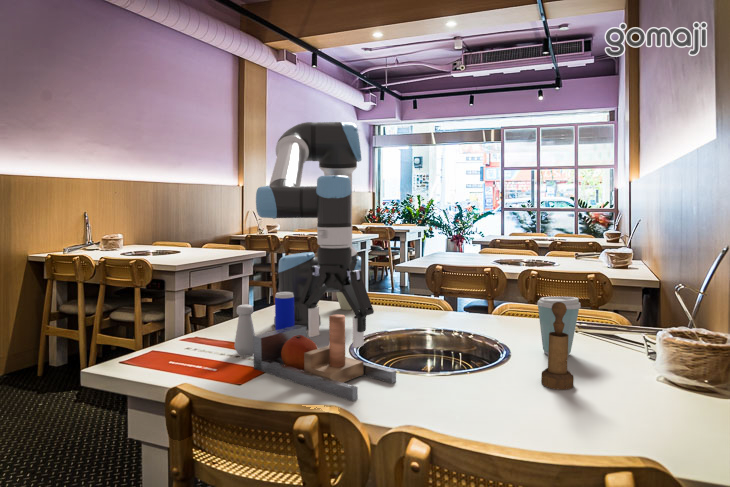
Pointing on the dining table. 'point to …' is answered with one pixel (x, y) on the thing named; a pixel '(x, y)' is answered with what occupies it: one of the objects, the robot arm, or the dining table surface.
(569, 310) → the disposable coffee cup
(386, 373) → the press base
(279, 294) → the beverage can
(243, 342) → the salt shaker
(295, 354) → the fruit
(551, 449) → the dining table surface
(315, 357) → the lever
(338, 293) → the mug
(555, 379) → the mortar and pestle
